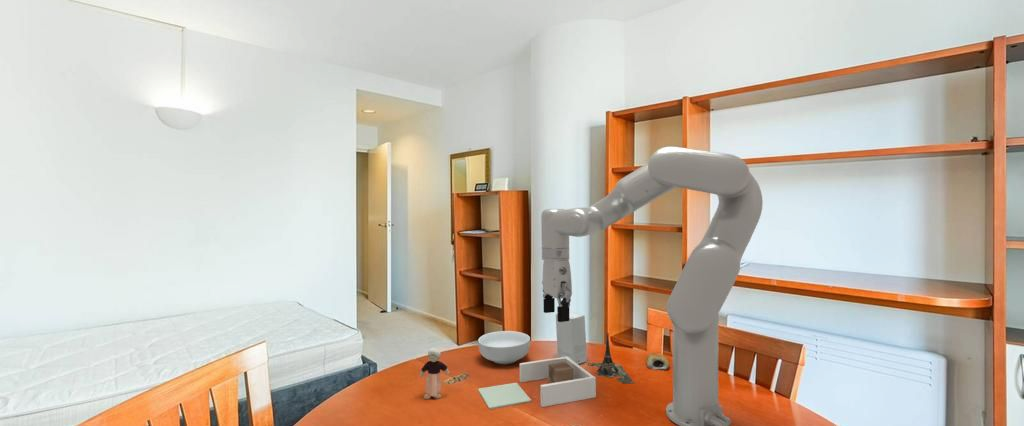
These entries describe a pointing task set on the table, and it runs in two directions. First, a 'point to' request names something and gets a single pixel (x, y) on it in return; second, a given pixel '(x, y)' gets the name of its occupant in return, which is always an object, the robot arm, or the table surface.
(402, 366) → the table surface
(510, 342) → the cereal bowl
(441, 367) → the grandmother figurine
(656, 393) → the table surface
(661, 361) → the pastry
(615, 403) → the table surface
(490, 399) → the sage mat
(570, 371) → the walnut block
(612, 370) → the eiffel tower figurine
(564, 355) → the skincare box
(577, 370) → the open side box
